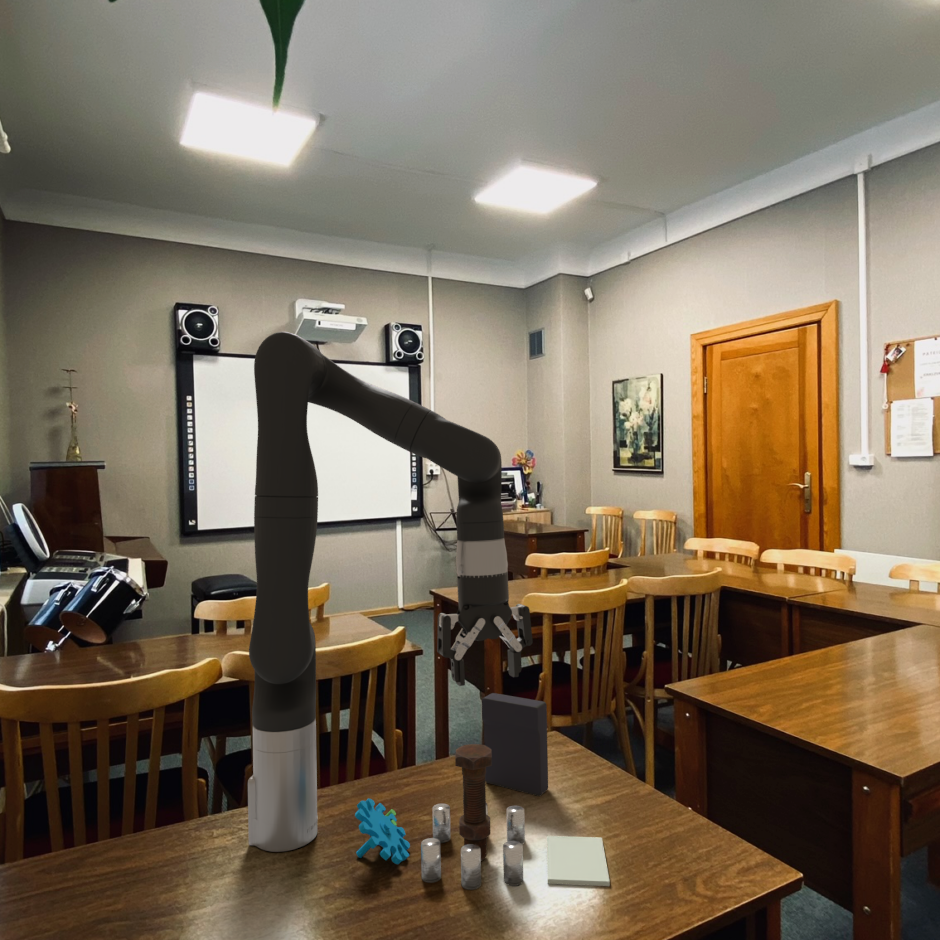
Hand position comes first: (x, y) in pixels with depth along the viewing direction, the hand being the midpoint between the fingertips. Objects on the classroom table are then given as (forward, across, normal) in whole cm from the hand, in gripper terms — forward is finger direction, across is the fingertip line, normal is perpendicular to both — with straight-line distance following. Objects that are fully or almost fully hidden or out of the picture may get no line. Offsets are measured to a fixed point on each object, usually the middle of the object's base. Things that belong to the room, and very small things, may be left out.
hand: (487, 680), depth 101 cm
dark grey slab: (+24, -11, -16) cm, 30 cm away
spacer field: (+24, +4, +3) cm, 24 cm away
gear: (+24, +16, -3) cm, 29 cm away
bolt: (+24, +4, +3) cm, 24 cm away
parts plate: (+24, -8, +9) cm, 27 cm away
